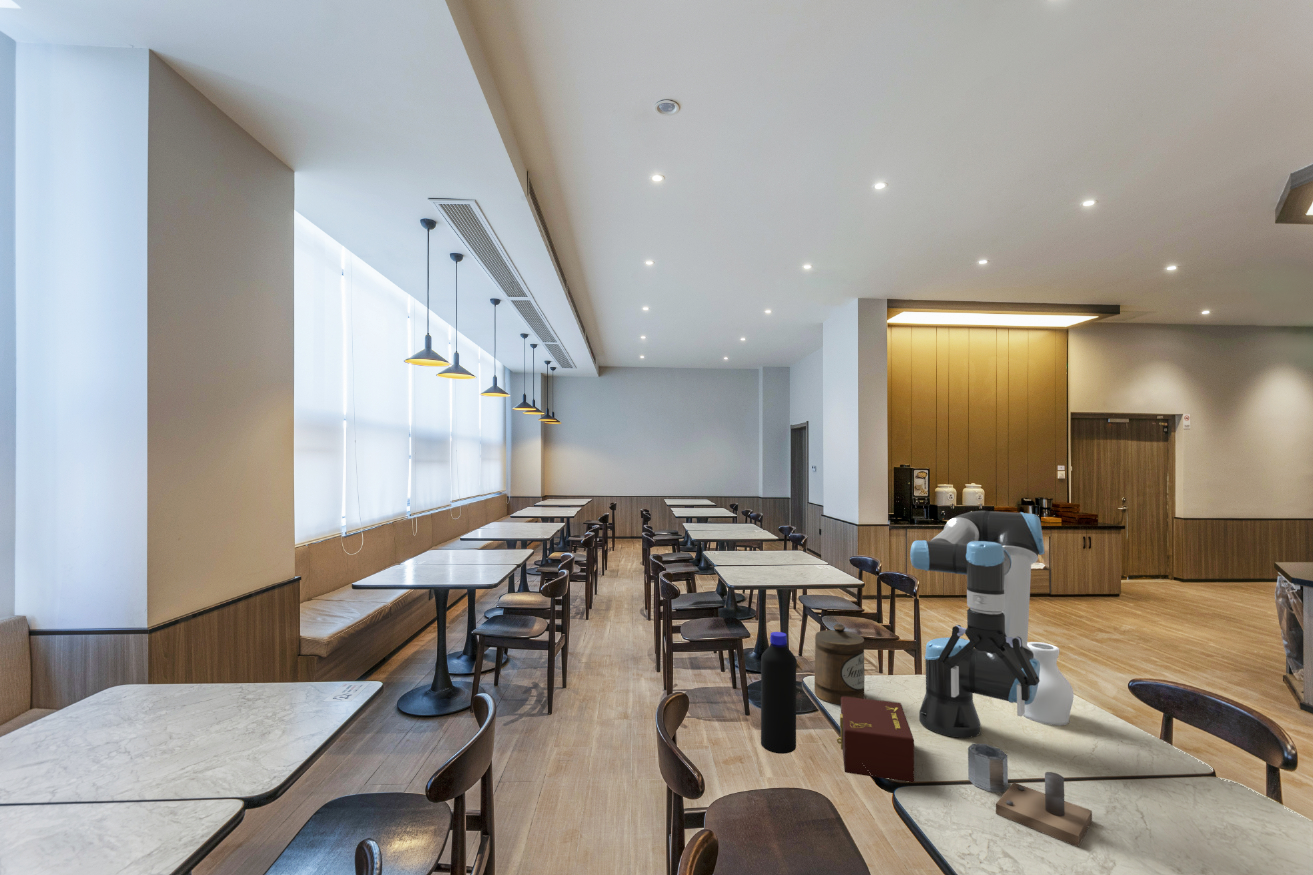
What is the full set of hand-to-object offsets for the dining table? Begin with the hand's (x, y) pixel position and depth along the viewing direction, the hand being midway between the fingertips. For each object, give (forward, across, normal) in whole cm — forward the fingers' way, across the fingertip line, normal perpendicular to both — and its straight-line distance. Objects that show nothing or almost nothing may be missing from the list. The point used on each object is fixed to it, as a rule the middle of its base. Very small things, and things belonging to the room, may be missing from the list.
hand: (986, 704), depth 131 cm
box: (+18, -24, -7) cm, 31 cm away
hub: (+17, 0, 0) cm, 17 cm away
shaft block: (+18, +12, -5) cm, 22 cm away
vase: (+17, -1, +51) cm, 54 cm away
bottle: (+18, -42, -21) cm, 50 cm away
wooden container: (+18, -48, +20) cm, 55 cm away
